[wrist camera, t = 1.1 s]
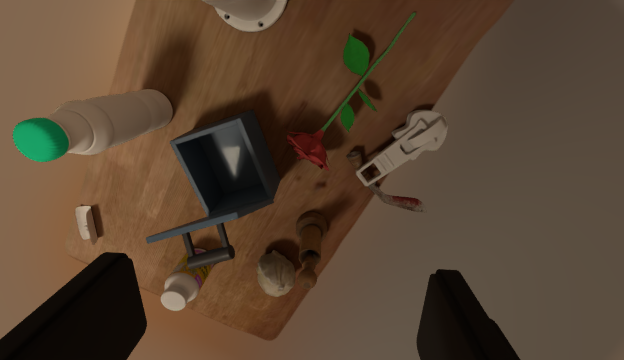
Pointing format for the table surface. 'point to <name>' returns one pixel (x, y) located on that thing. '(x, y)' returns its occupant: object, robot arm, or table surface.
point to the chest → (228, 163)
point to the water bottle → (92, 124)
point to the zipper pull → (409, 142)
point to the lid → (217, 219)
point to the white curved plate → (86, 223)
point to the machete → (392, 200)
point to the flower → (357, 63)
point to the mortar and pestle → (310, 246)
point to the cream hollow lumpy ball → (275, 274)
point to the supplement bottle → (184, 283)
